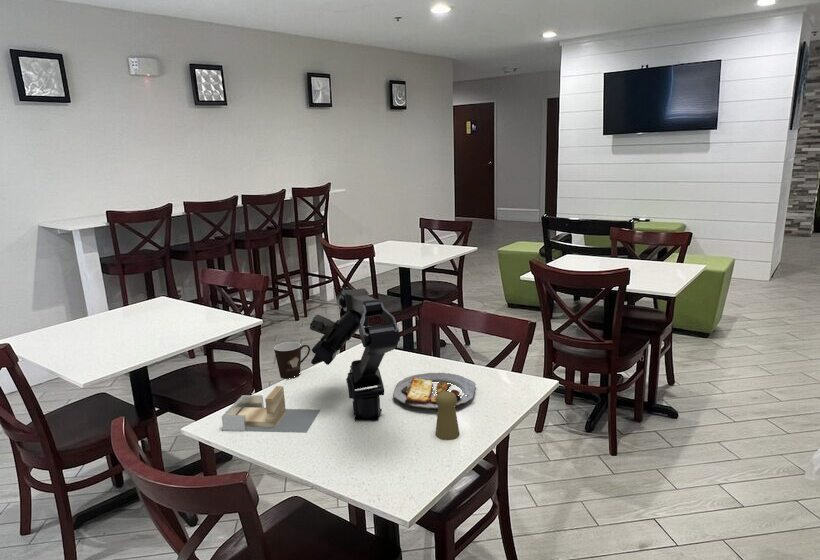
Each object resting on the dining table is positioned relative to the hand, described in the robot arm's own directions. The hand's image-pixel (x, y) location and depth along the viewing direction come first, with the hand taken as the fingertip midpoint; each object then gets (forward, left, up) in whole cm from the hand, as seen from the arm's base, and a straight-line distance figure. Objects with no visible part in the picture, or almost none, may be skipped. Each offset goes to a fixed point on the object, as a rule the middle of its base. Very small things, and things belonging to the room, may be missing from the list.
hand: (312, 363), depth 158 cm
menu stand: (+12, +13, -11) cm, 21 cm away
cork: (-39, +18, -12) cm, 45 cm away
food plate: (-34, -5, -12) cm, 37 cm away
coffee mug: (+13, -19, -12) cm, 26 cm away
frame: (+16, +13, -11) cm, 23 cm away
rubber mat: (+8, +13, -12) cm, 19 cm away
